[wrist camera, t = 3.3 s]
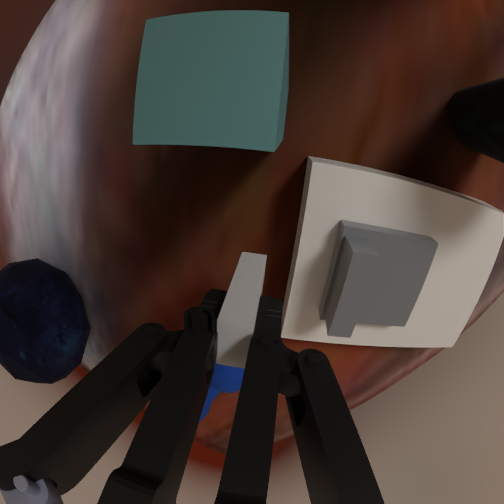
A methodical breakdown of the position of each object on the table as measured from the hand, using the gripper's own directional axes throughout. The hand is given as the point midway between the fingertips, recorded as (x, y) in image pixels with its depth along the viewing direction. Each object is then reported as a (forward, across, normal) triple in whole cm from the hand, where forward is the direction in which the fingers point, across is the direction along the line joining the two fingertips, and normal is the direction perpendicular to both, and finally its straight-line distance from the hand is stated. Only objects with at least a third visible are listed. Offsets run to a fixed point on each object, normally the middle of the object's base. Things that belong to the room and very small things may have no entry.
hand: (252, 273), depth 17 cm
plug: (+6, -1, +10) cm, 12 cm away
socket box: (+6, +12, 0) cm, 13 cm away
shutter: (+2, +9, 0) cm, 9 cm away
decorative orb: (+6, -24, -11) cm, 27 cm away
